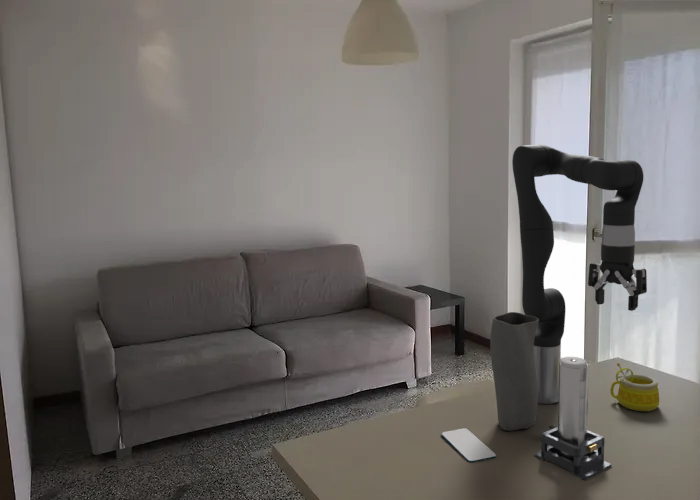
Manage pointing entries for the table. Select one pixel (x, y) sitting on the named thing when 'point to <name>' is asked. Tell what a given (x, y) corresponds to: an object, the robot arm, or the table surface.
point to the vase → (514, 369)
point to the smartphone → (468, 445)
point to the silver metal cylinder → (573, 403)
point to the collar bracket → (575, 454)
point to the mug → (636, 391)
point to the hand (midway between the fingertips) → (615, 306)
